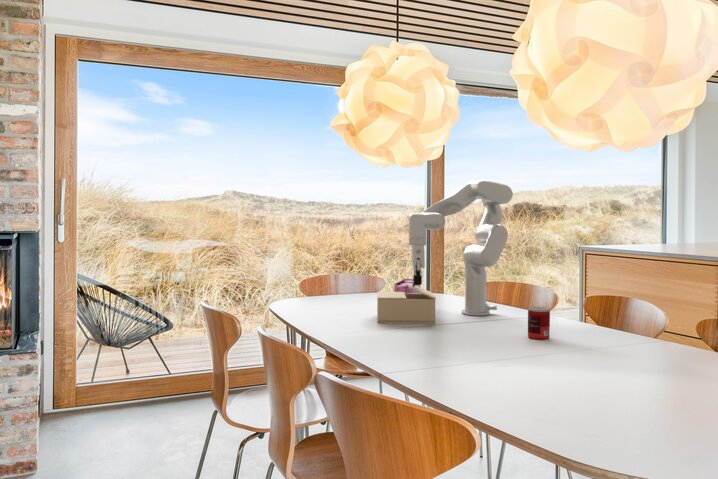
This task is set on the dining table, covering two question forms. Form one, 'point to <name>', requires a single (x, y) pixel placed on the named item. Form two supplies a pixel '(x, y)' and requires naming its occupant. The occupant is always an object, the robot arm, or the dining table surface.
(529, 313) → the canned food
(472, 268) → the robot arm
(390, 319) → the carton
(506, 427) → the dining table surface
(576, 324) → the dining table surface
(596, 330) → the dining table surface
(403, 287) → the gum box
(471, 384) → the dining table surface
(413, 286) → the carton flap
